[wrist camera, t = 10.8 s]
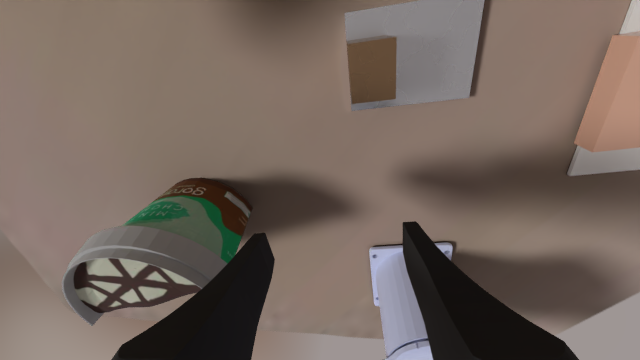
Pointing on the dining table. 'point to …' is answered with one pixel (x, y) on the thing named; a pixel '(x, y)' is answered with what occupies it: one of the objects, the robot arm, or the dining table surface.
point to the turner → (412, 52)
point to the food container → (158, 250)
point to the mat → (611, 160)
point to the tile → (614, 99)
